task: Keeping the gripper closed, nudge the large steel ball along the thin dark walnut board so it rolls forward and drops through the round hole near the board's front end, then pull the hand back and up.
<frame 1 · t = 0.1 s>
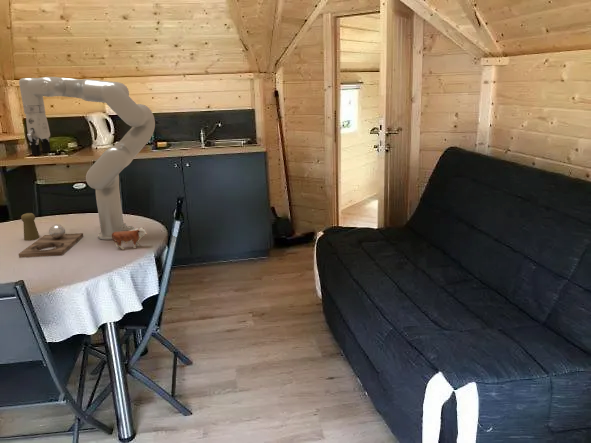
hand: (41, 153, 199), 37 cm above the table, tool pointing down, fingers open, 9 cm apart
bull figurine: (131, 248, 195), on the table
ball: (57, 231, 204), point 4 cm above the table, touching board
cork: (32, 238, 211), on the table
board: (53, 246, 199), on the table
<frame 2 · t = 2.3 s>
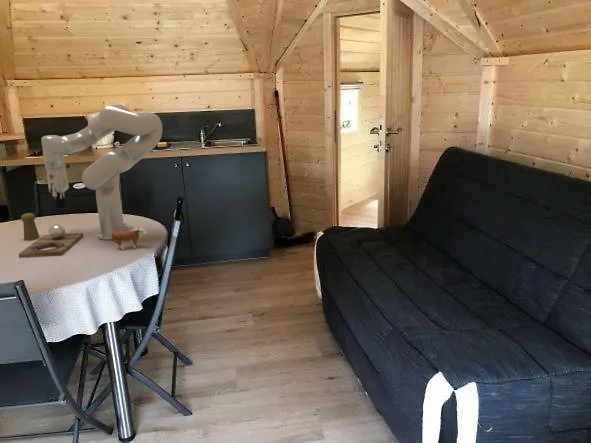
hand: (61, 207, 210), 13 cm above the table, tool pointing down, fingers closed
nothing on the table moved.
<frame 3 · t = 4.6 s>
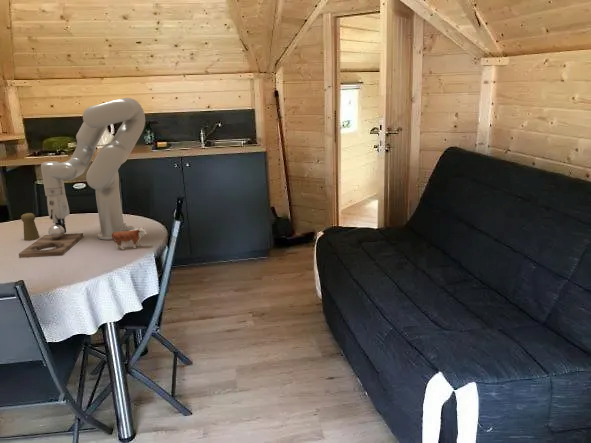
hand: (61, 233, 209), 2 cm above the table, tool pointing down, fingers closed
ball: (56, 231, 203), point 4 cm above the table, tilted 7°, touching board, gripper
everything else where it was.
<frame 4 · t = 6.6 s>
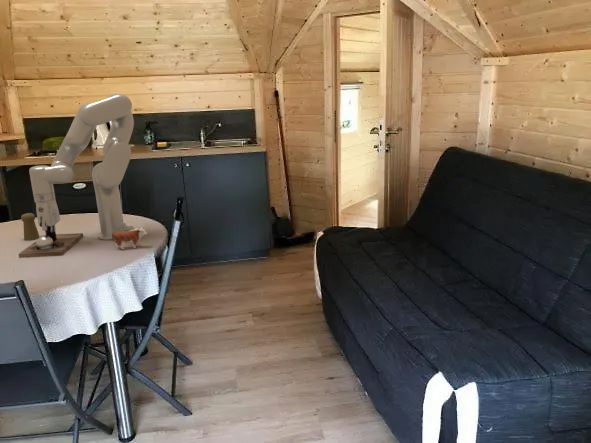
hand: (52, 241, 199), 2 cm above the table, tool pointing down, fingers closed
ball: (44, 243, 194), point 3 cm above the table, tilted 121°, touching gripper
everything else where it was.
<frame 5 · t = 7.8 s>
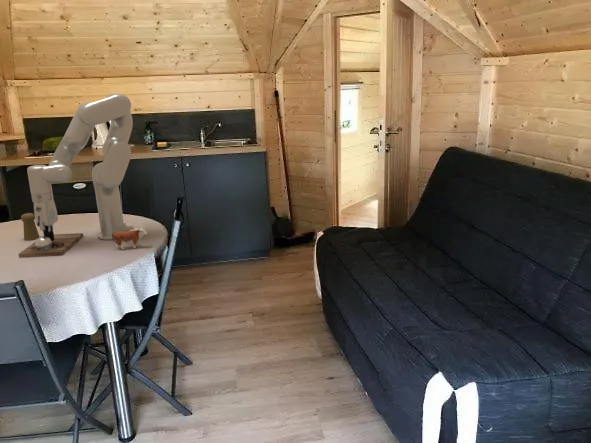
hand: (49, 240, 197), 3 cm above the table, tool pointing down, fingers closed
ball: (43, 243, 193), point 3 cm above the table, tilted 122°, touching board, gripper
everything else where it was.
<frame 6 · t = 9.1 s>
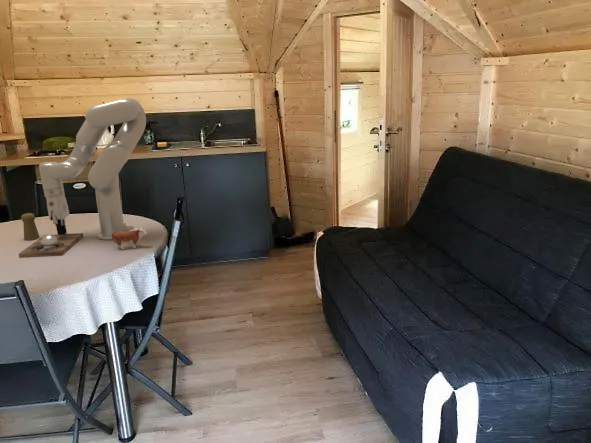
hand: (62, 234, 207), 2 cm above the table, tool pointing down, fingers closed
ball: (49, 242, 195), point 3 cm above the table, tilted 145°
everything else where it was.
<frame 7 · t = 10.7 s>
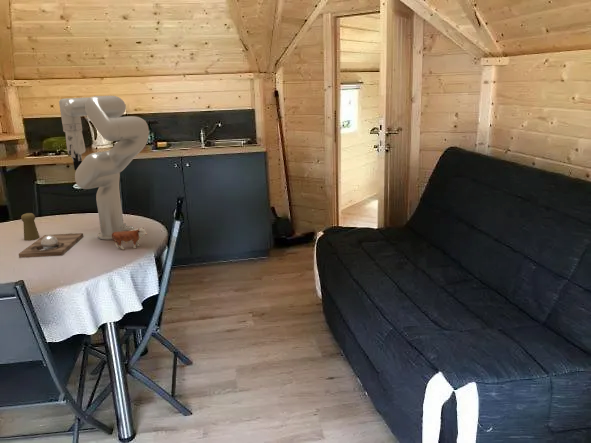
hand: (78, 169, 216), 27 cm above the table, tool pointing down, fingers closed
ball: (49, 242, 194), point 3 cm above the table, tilted 156°
everything else where it was.
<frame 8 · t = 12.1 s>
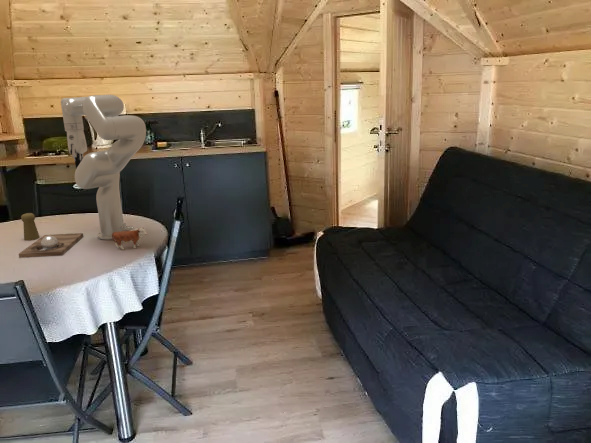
hand: (80, 168, 217), 27 cm above the table, tool pointing down, fingers closed
ball: (49, 243, 194), point 3 cm above the table, tilted 163°
everything else where it was.
at the end: ball 1.0 cm from the target spot on the board, point 3.0 cm above the board's base; ball touching table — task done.
